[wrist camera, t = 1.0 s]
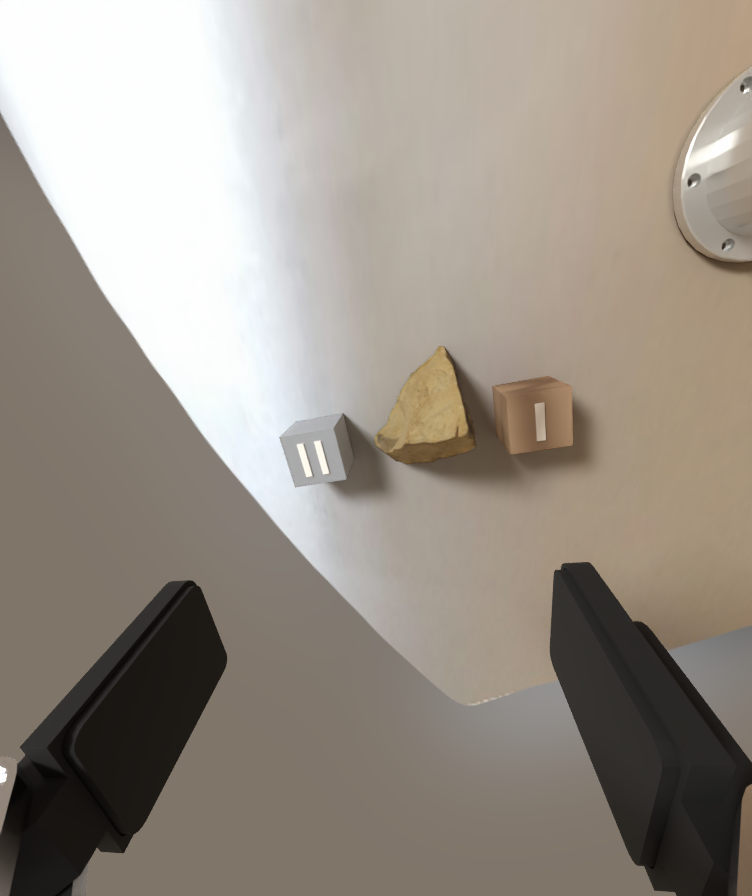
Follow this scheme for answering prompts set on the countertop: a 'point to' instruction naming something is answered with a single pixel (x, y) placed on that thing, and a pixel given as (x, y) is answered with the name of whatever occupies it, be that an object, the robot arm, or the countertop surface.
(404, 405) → the rock
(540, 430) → the walnut block
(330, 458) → the grey block
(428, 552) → the countertop surface
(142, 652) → the robot arm
